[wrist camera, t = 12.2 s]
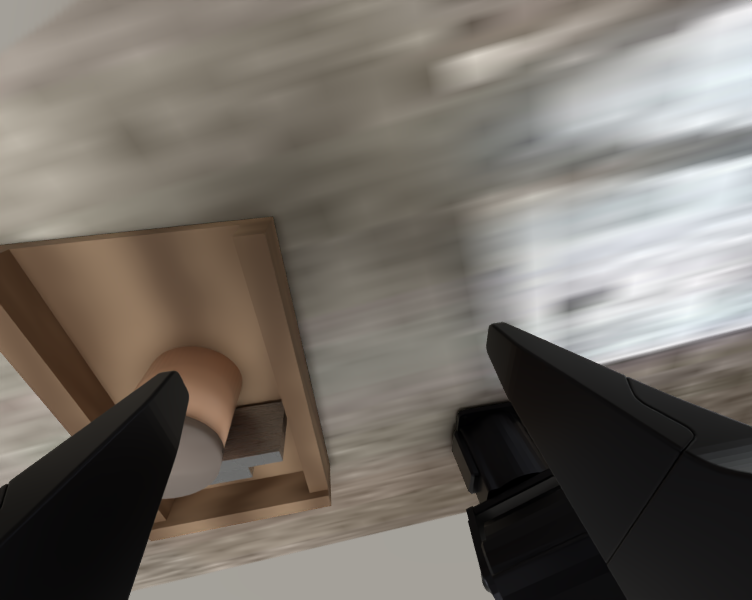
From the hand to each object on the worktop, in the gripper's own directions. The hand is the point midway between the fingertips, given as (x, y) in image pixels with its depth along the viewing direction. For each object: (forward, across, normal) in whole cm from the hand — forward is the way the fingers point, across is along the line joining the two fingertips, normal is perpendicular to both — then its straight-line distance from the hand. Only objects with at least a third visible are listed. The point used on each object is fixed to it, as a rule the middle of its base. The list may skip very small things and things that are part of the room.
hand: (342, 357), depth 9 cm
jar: (+10, +10, +8) cm, 16 cm away
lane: (+11, +10, +10) cm, 18 cm away
